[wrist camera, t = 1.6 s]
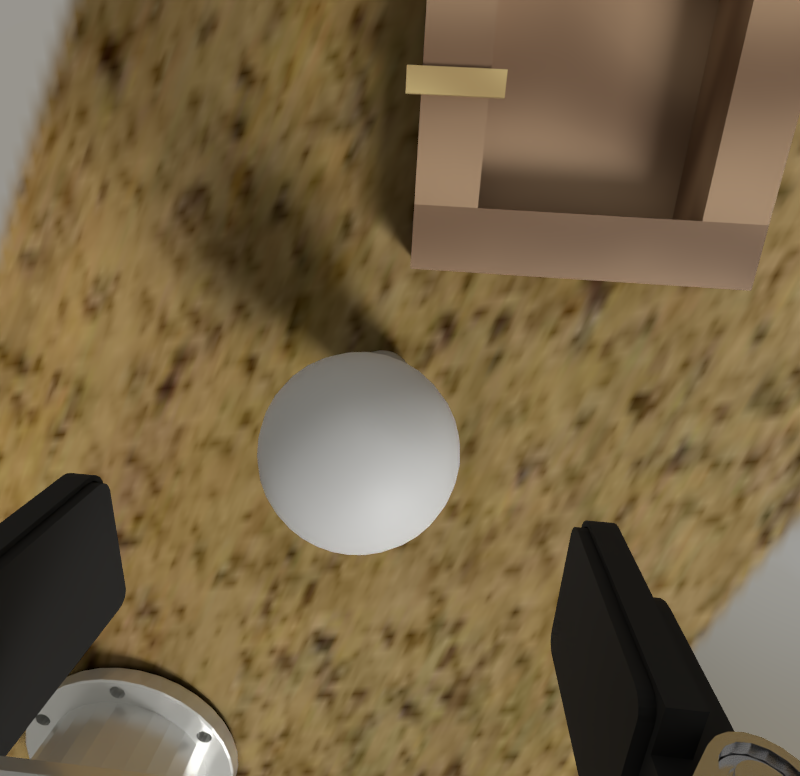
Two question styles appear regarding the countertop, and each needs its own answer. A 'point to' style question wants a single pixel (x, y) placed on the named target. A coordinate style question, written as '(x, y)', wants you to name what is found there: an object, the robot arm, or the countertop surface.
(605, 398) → the countertop surface
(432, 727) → the countertop surface
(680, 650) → the robot arm
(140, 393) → the countertop surface
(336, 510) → the lightbulb
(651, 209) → the socket block
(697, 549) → the countertop surface
